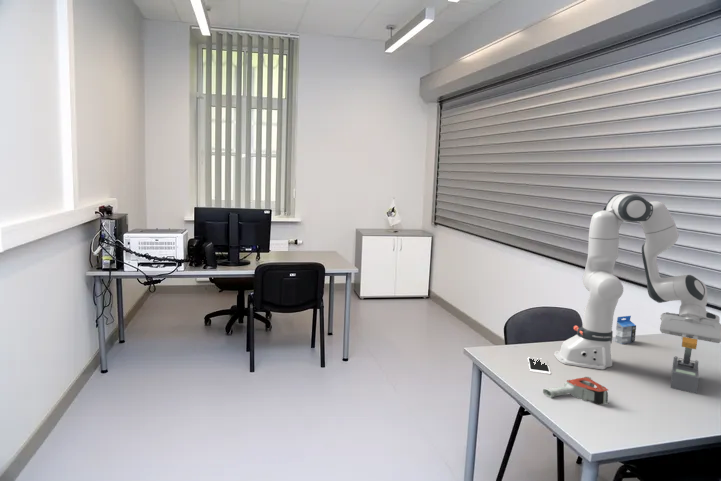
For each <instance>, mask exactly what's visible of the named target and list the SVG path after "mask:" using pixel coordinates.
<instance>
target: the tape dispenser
mask: <svg viewBox="0 0 721 481" xmlns="http://www.w3.org/2000/svg"><path fill="white" fill-rule="evenodd" d="M595 386H596V387H595ZM608 391H609V389H608V388H606V387H605V386H604V385H601V384H600V383H598V382H596V381H594V380H593V379H592V378H591V377H590V376H584V377H577V378H574V379H573V378H572V379H567V380H566V382H565V383H564V385H563V386H559V387H552V388H546V387H544V388H543V390H542V393H543V394H544V396H546V397H547V398H551V399H552V398H553V397H558V396H563V395H570V394H571V396H572V397H573V398H577V399H580V400H583V401H591V402H593V403H594V404H596V405H600V406H601V405H608V404H609V402H608V401H609V400H608V398H609V394H608Z"/></svg>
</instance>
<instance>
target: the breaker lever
mask: <svg viewBox="0 0 721 481" xmlns="http://www.w3.org/2000/svg"><path fill="white" fill-rule="evenodd" d="M681 340H682V339H681ZM697 346H698V340H697V339H692V338H687V337H683V340H682V342H681V347H682V348H684V353H683V354H684V355H683V358H682V359H683V361H682V360H678V365H681V366H686V367H690V368H694V363H692V362H690V360H691V357H692V350H697V348H698V347H697Z"/></svg>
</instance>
